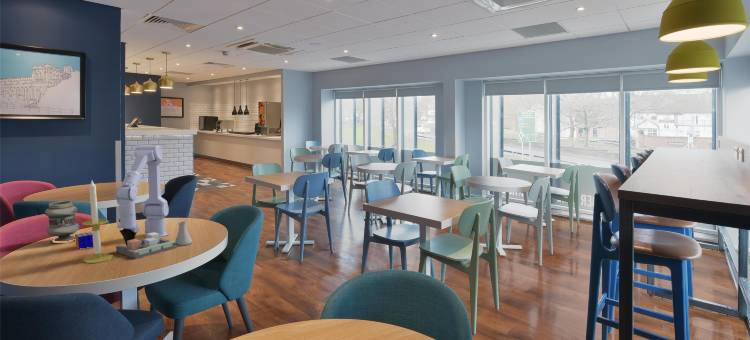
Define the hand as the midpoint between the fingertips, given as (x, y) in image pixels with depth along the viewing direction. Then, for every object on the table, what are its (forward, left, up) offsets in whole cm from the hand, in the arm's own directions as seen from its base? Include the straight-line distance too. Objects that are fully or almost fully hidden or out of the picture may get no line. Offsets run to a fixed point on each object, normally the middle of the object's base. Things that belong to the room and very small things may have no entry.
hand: (129, 245), depth 172 cm
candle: (-1, -12, -3) cm, 12 cm away
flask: (+8, +19, -3) cm, 21 cm away
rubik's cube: (-23, -8, -3) cm, 24 cm away
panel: (+3, +5, -2) cm, 7 cm away
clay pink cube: (+3, 0, -1) cm, 4 cm away
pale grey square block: (0, +10, -1) cm, 10 cm away
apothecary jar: (-40, -10, -3) cm, 41 cm away
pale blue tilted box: (+7, +5, -1) cm, 9 cm away
